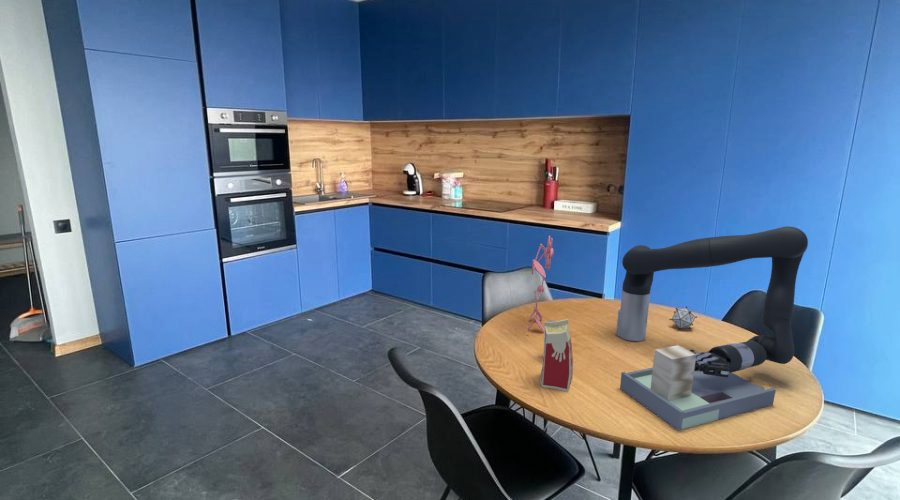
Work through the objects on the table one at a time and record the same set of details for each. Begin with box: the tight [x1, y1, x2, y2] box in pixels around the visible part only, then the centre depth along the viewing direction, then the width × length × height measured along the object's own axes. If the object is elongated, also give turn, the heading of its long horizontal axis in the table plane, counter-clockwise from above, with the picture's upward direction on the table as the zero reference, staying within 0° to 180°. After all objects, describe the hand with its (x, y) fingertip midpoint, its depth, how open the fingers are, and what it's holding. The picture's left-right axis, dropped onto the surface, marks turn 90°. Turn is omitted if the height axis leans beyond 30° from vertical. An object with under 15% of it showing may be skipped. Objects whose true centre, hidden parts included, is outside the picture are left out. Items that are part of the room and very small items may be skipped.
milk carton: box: [539, 318, 574, 393], centre depth 134 cm, size 9×9×20 cm
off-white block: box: [650, 344, 696, 401], centre depth 123 cm, size 8×6×12 cm
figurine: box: [526, 235, 562, 337], centre depth 172 cm, size 15×26×35 cm, turn 170°
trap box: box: [619, 366, 777, 431], centre depth 128 cm, size 33×21×5 cm, turn 110°
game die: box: [668, 306, 698, 331], centre depth 174 cm, size 9×8×10 cm
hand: (683, 368), depth 124 cm, fingers closed
